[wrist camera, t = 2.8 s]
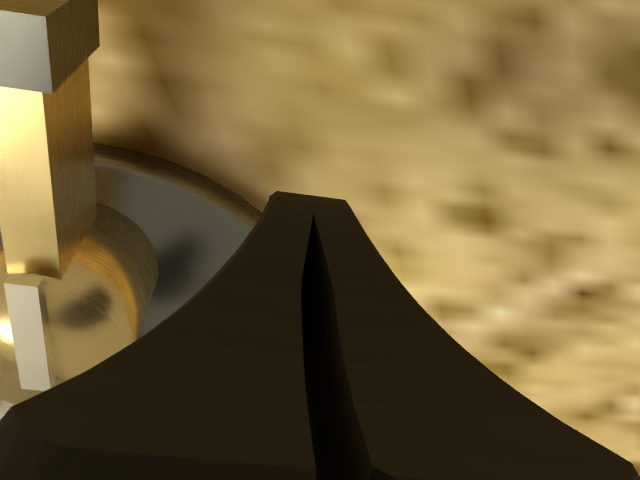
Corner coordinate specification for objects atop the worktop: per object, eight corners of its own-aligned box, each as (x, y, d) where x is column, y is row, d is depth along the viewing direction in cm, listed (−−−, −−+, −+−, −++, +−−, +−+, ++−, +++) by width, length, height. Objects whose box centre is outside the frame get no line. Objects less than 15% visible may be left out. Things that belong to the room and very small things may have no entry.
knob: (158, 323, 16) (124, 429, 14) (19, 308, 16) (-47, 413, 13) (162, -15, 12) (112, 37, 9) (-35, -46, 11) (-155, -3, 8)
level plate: (393, 432, 21) (409, 560, 18) (50, 520, 24) (2, 648, 20) (208, 57, 14) (170, 140, 10) (-254, 244, 17) (-417, 364, 13)
